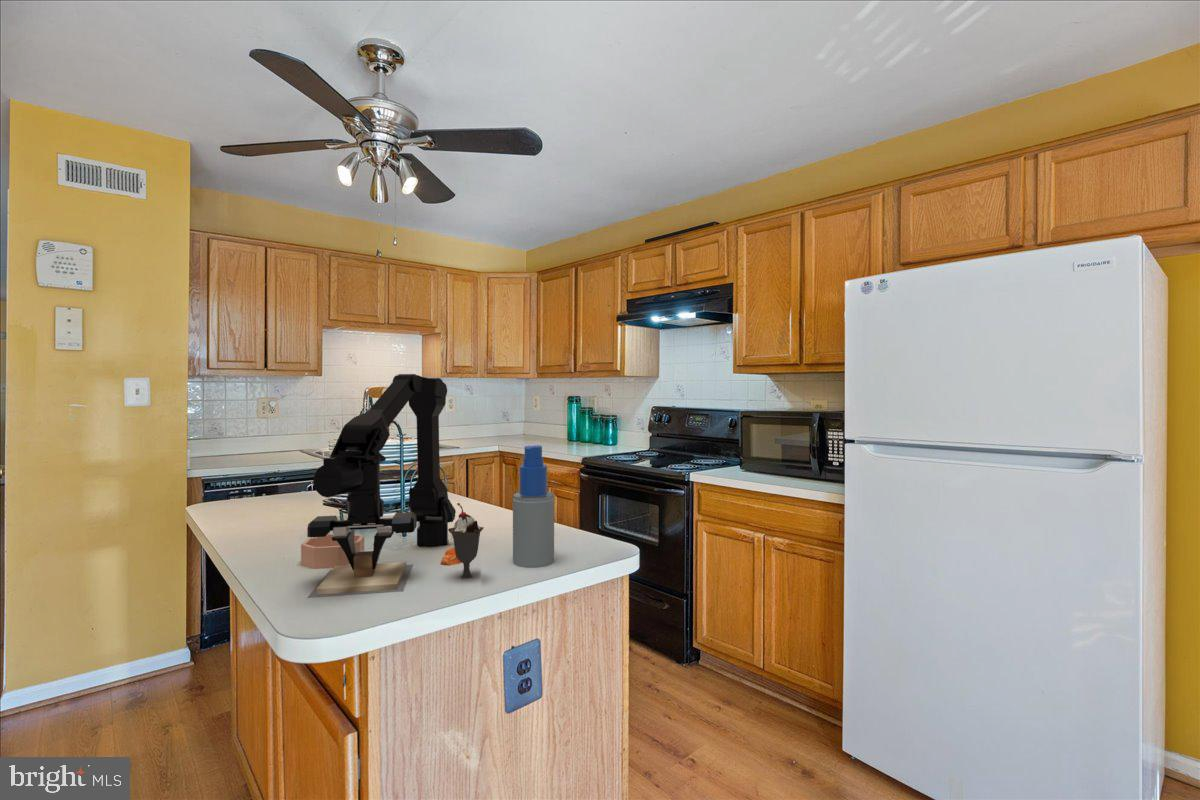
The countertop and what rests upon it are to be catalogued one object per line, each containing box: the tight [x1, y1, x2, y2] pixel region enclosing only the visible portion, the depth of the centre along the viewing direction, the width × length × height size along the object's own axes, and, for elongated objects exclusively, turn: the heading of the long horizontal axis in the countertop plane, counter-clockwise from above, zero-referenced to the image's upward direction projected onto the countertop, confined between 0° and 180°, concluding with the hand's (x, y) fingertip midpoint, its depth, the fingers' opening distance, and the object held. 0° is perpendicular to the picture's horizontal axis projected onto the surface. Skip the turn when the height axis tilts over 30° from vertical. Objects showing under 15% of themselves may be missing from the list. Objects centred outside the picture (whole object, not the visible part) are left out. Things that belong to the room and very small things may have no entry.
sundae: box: [448, 502, 485, 579], centre depth 112 cm, size 7×7×15 cm
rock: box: [439, 547, 463, 566], centre depth 123 cm, size 12×12×4 cm
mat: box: [306, 564, 414, 599], centre depth 110 cm, size 16×16×1 cm
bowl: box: [300, 533, 365, 570], centre depth 123 cm, size 12×12×5 cm
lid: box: [316, 550, 407, 595], centre depth 110 cm, size 14×14×5 cm
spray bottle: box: [512, 444, 555, 568], centre depth 124 cm, size 9×9×25 cm
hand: (364, 569), depth 110 cm, fingers closed on lid, 3 cm apart
